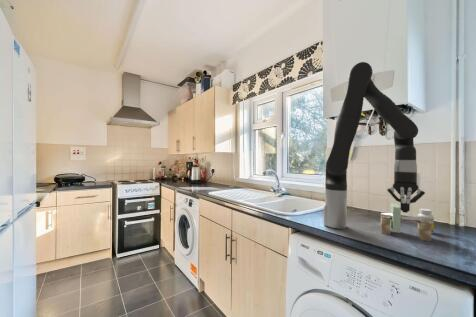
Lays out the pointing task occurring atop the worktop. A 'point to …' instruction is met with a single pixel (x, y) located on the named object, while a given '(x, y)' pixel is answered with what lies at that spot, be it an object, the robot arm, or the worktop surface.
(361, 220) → the worktop surface
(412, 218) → the metal pipe
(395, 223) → the collar
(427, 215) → the supplement bottle
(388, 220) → the pipe stand
